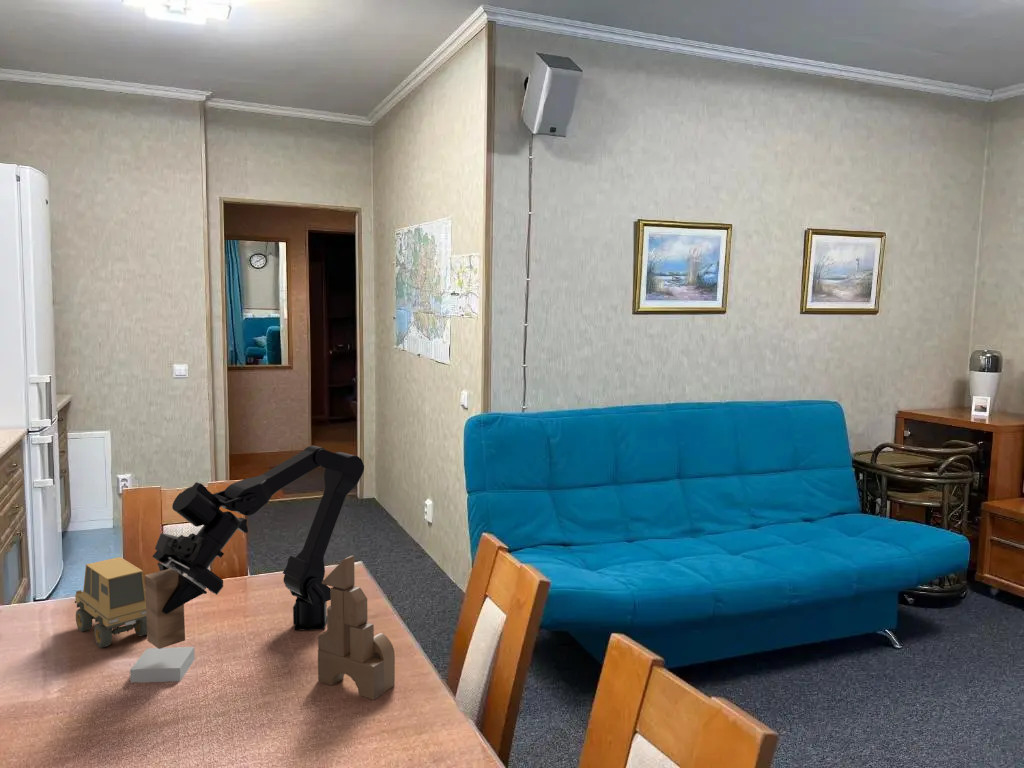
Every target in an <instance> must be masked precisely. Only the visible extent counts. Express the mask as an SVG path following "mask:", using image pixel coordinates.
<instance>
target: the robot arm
mask: <svg viewBox="0 0 1024 768" xmlns="http://www.w3.org/2000/svg"><path fill="white" fill-rule="evenodd" d="M317 468H323V469H324V474H323V479H324V480H323V481H324V491H323V494H322V497H321V499H320V503H319V504H318V508H317V511H316V513H315V515H314V518H313V521H312V524H311V526H310V529H309V532H308V534H307V537H306V539H305V543H304V545H303V548H302V550H301V551H300V552H299V553H298V554H297V555H295V556H293V555H289V557H288V559H287V563H286V567H285V569H284V570H283V571H282V574H283V575H284V576H283V583H284V586H285V588H287V590H289V591H290V594H291V596H293V597H296V599H295V603H294V604H293V606H292V614H293V615H292V616H293V617H292V619H293V620H292V621H293V622H292V623H293V625H294V631H321V630H325V629H326V627H327V626H326V625H327V608H328V607H327V604H328V603H327V602H328V601H331V590H330V589H331V588H332V587H330V586H328V585H324V584H322V581H323V580H324V579H325V575H326V568H325V567H326V566H325V554H326V553H327V549H328V546H329V544H330V541H331V538H332V535H333V533H334V530H335V528H336V525H337V521H338V519H339V517H340V514H341V511H342V508H343V505H344V504H345V500H346V497H347V496H348V495H349V493H351V492H352V490H354V489H355V488H356V487H357V486H358V483H360V480H361V478H362V476H363V474H364V471H365V465H364V462H363V460H362V458H361V457H360V456H357V455H354V454H350V453H346V452H342V451H337V452H332V451H330V450H327V449H325V448H324V447H321V446H317V445H309V446H306V447H305V448H304V449H303V450H302V451H300V452H298V453H297V454H295V455H293V456H292V457H290V458H288V459H287V460H284V461H283V462H281V463H280V464H278V465H276V466H274V467H273V468H271V469H269V470H268V471H265V472H264V473H262V474H259V475H257V476H254V477H248V478H244V479H241V480H238V481H236V482H233V483H231V484H230V485H228V486H227V487H226V488H225V489H224V490H221V491H218V492H214V493H212V492H211V491H210V490H208V489H207V487H206V486H205V485H204V484H202V483H201V482H199V481H198V482H197V481H196V482H194V484H193V485H191V486H190V487H188V488H186V489H184V490H183V491H181V492H180V493H178V494H177V496H176V497H175V498H174V500H173V502H172V510H173V511H174V512H175V513H176V514H178V515H179V516H181V517H182V518H183V519H185V520H186V521H187V522H189V523H190V524H191V525H192V526H194V527H201V526H202V527H201V528H200V530H199V531H198V532H197V533H193V532H192V533H191V534H189V535H188V536H184V535H183V534H180V535H179V536H177V535H172V534H169V533H163V532H161V533H160V535H159V538H158V540H157V542H156V544H155V547H154V550H155V552H154V554H152V556H151V557H152V558H153V559H154V560H156V561H158V562H157V567H158V568H159V570H158V571H163V570H167V569H173V570H175V571H176V572H178V573H180V574H178V586H177V587H176V589H175V590H174V592H173V593H172V595H171V597H170V598H169V600H168V601H167V603H166V604H165V606H164V608H163V610H162V612H164V613H165V614H168V613H170V612H171V611H173V610H175V609H176V608H178V607H180V606H181V605H183V604H184V605H185V604H187V603H188V602H190V601H192V600H194V599H196V598H198V597H200V596H202V595H206V594H207V593H208V591H209V592H211V593H213V595H214V594H215V595H216V596H217V595H218V594H219V593H220V592H221V590H222V589H223V588H224V579H223V578H221V577H220V576H218V575H217V574H215V573H214V572H213V571H211V570H210V569H209V568H210V566H211V565H212V563H213V562H214V561H215V560H216V558H217V557H218V558H220V559H222V557H223V556H224V555H225V553H224V552H223V551H222V550H223V549H224V548H225V547H226V545H227V544H228V542H229V541H230V540H231V538H232V537H233V536H234V534H235V533H236V532H237V531H240V532H241V533H245V534H247V533H248V532H249V530H248V529H249V527H248V525H247V524H248V522H247V521H248V520H247V518H244V517H242V516H241V517H237V516H236V515H235V514H234V513H232V512H235V513H238V514H240V515H243V516H247V517H248V516H252V515H255V514H256V513H258V512H259V511H260V510H261V509H263V508H264V507H265V506H266V505H267V504H268V503H269V501H270V500H271V498H272V497H273V496H274V495H276V493H278V491H280V490H282V489H284V488H286V487H287V486H289V485H290V484H292V483H294V482H295V481H297V480H298V479H300V478H302V477H304V476H305V475H307V474H309V473H311V472H312V471H313V470H316V469H317ZM220 508H223V509H226V510H227V511H223V510H221V509H220ZM181 574H182V575H181ZM184 574H185V575H187V576H184ZM206 589H207V590H208V591H207V590H206Z"/></svg>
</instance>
